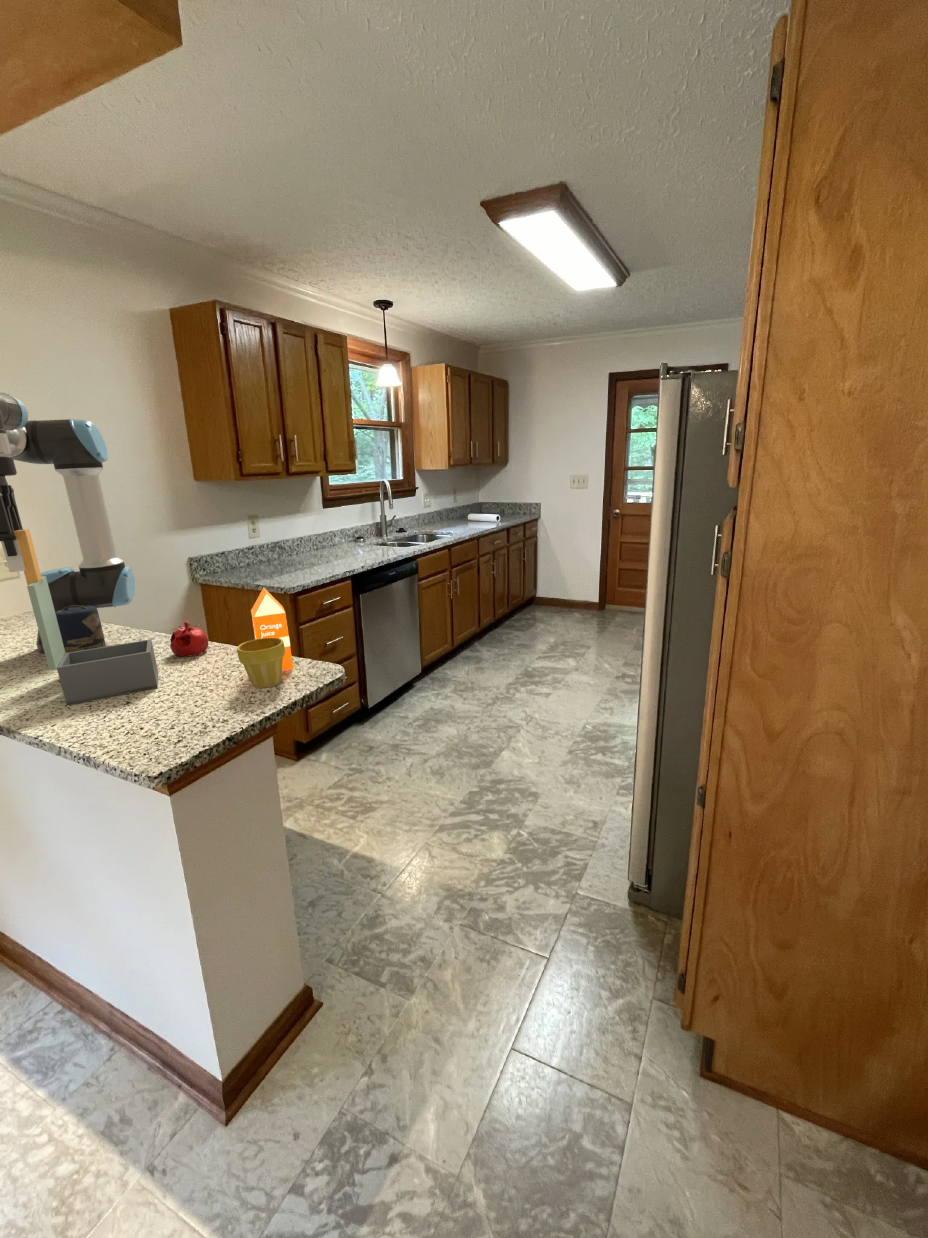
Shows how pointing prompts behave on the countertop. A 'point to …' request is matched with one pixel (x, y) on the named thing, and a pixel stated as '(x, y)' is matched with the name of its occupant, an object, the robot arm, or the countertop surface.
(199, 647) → the pomegranate
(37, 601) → the lid
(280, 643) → the plant pot
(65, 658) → the tub
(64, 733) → the countertop surface
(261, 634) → the orange juice
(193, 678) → the countertop surface
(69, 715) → the countertop surface
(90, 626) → the canister
